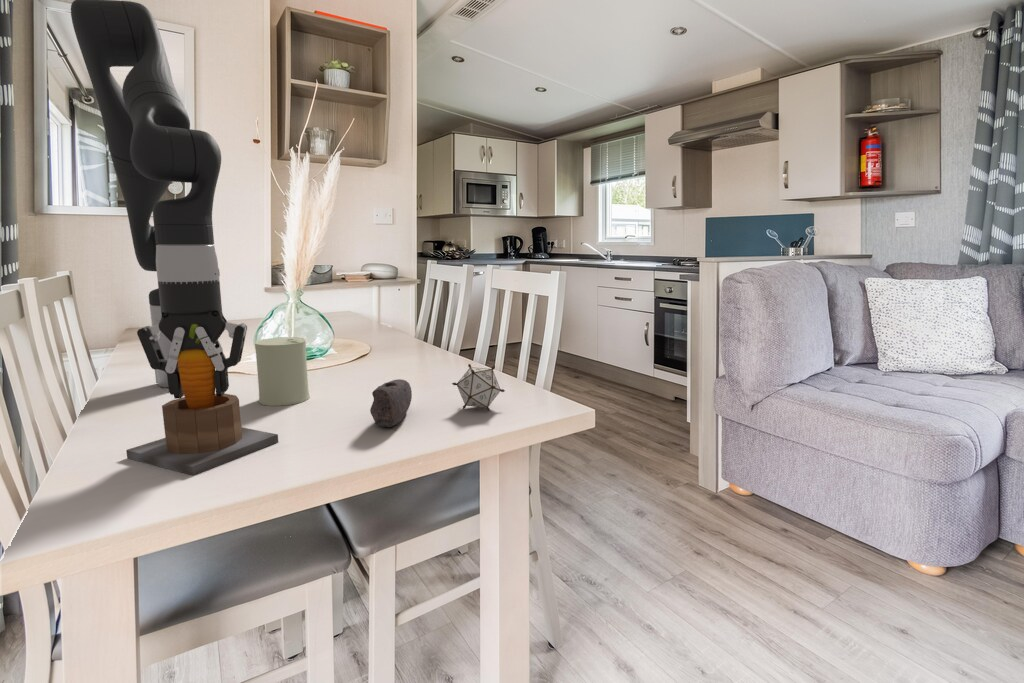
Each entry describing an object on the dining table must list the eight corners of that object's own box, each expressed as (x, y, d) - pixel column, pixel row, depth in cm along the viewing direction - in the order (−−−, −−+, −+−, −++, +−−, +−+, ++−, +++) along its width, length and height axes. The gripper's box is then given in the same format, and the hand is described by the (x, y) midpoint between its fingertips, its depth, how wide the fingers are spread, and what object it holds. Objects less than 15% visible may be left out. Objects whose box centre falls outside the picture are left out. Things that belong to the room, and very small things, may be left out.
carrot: (193, 419, 85) (183, 320, 82) (227, 418, 85) (218, 320, 83) (176, 430, 80) (165, 325, 78) (213, 429, 81) (203, 325, 78)
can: (292, 407, 105) (288, 343, 103) (248, 404, 107) (243, 341, 105) (318, 394, 114) (315, 335, 112) (277, 392, 116) (273, 334, 114)
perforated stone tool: (394, 406, 106) (393, 370, 105) (422, 407, 105) (421, 370, 104) (364, 432, 91) (362, 390, 90) (395, 434, 90) (394, 391, 89)
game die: (488, 425, 106) (520, 382, 106) (471, 422, 98) (505, 376, 98) (454, 397, 109) (485, 355, 109) (435, 391, 101) (468, 347, 101)
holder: (127, 458, 80) (121, 408, 79) (215, 429, 93) (211, 386, 91) (193, 475, 74) (187, 422, 73) (278, 441, 87) (275, 396, 85)
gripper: (119, 280, 74) (134, 406, 77) (239, 278, 77) (249, 399, 80) (141, 276, 81) (153, 392, 84) (249, 275, 84) (258, 386, 87)
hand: (200, 395), depth 82 cm, fingers closed on carrot, 4 cm apart
